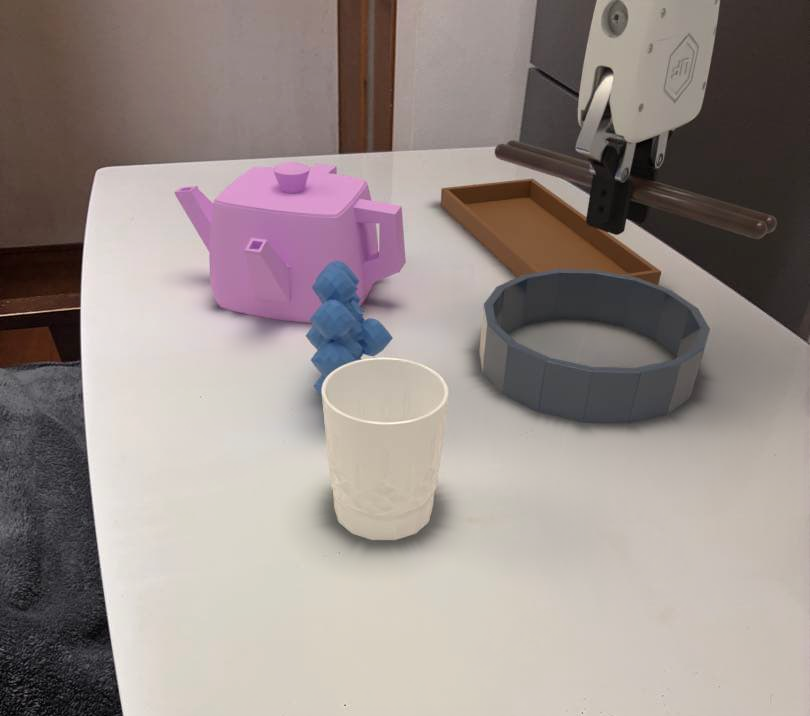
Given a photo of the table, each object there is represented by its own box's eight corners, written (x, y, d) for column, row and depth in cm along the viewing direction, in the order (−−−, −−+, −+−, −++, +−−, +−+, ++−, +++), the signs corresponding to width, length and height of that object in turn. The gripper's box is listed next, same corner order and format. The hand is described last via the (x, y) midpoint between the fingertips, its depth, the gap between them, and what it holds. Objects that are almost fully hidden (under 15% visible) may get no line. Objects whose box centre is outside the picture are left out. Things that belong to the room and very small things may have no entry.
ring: (562, 301, 85) (570, 252, 82) (732, 370, 76) (749, 319, 72) (436, 365, 75) (439, 312, 72) (614, 455, 66) (627, 399, 62)
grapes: (390, 444, 66) (393, 298, 58) (302, 442, 66) (293, 296, 58) (392, 367, 75) (395, 231, 67) (314, 365, 74) (308, 229, 66)
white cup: (393, 567, 55) (396, 439, 49) (303, 518, 59) (294, 392, 52) (461, 507, 60) (473, 384, 54) (374, 465, 64) (375, 344, 57)
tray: (440, 209, 103) (441, 187, 102) (530, 198, 107) (532, 178, 105) (550, 311, 84) (553, 287, 82) (656, 294, 87) (661, 271, 85)
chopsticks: (510, 152, 72) (512, 137, 72) (776, 232, 60) (782, 215, 59) (490, 159, 71) (492, 144, 70) (759, 243, 59) (764, 226, 58)
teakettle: (416, 311, 83) (421, 180, 75) (254, 353, 76) (240, 214, 68) (333, 248, 93) (329, 127, 85) (184, 280, 86) (165, 152, 78)
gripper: (649, -42, 49) (596, 268, 61) (780, -66, 57) (711, 210, 70) (543, -57, 52) (514, 238, 65) (681, -77, 61) (632, 186, 73)
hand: (616, 221), depth 67 cm, fingers closed on chopsticks, 2 cm apart
